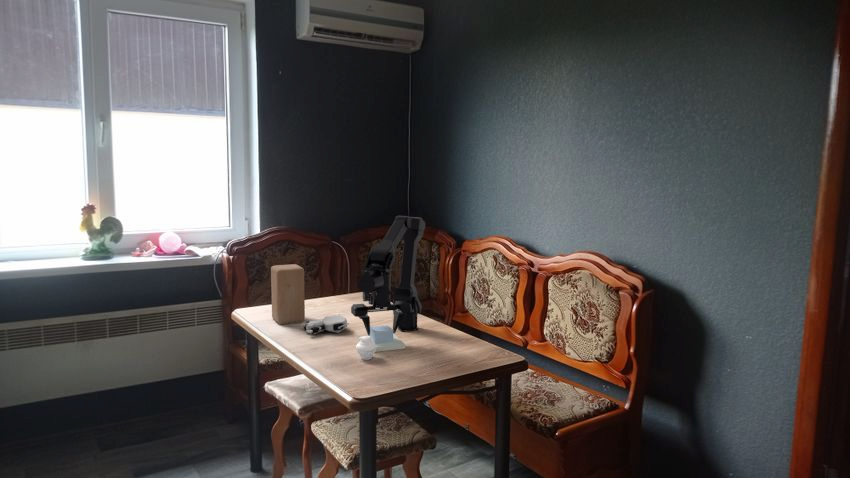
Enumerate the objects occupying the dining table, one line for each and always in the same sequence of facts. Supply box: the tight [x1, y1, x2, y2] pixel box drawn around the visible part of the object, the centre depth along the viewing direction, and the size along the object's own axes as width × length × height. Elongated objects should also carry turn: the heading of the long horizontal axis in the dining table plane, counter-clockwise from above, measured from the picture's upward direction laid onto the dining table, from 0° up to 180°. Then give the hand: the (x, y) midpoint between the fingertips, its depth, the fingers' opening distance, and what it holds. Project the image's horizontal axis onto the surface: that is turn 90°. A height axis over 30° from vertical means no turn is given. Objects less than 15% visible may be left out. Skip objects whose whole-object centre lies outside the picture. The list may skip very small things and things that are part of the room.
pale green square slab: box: [358, 333, 406, 353], centre depth 202 cm, size 12×12×2 cm
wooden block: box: [270, 263, 306, 325], centre depth 229 cm, size 10×10×20 cm
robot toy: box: [301, 314, 350, 335], centre depth 217 cm, size 12×4×15 cm
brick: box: [370, 324, 394, 344], centre depth 202 cm, size 6×6×4 cm
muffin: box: [355, 335, 377, 361], centre depth 189 cm, size 6×6×7 cm
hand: (381, 334), depth 202 cm, fingers open, 8 cm apart
